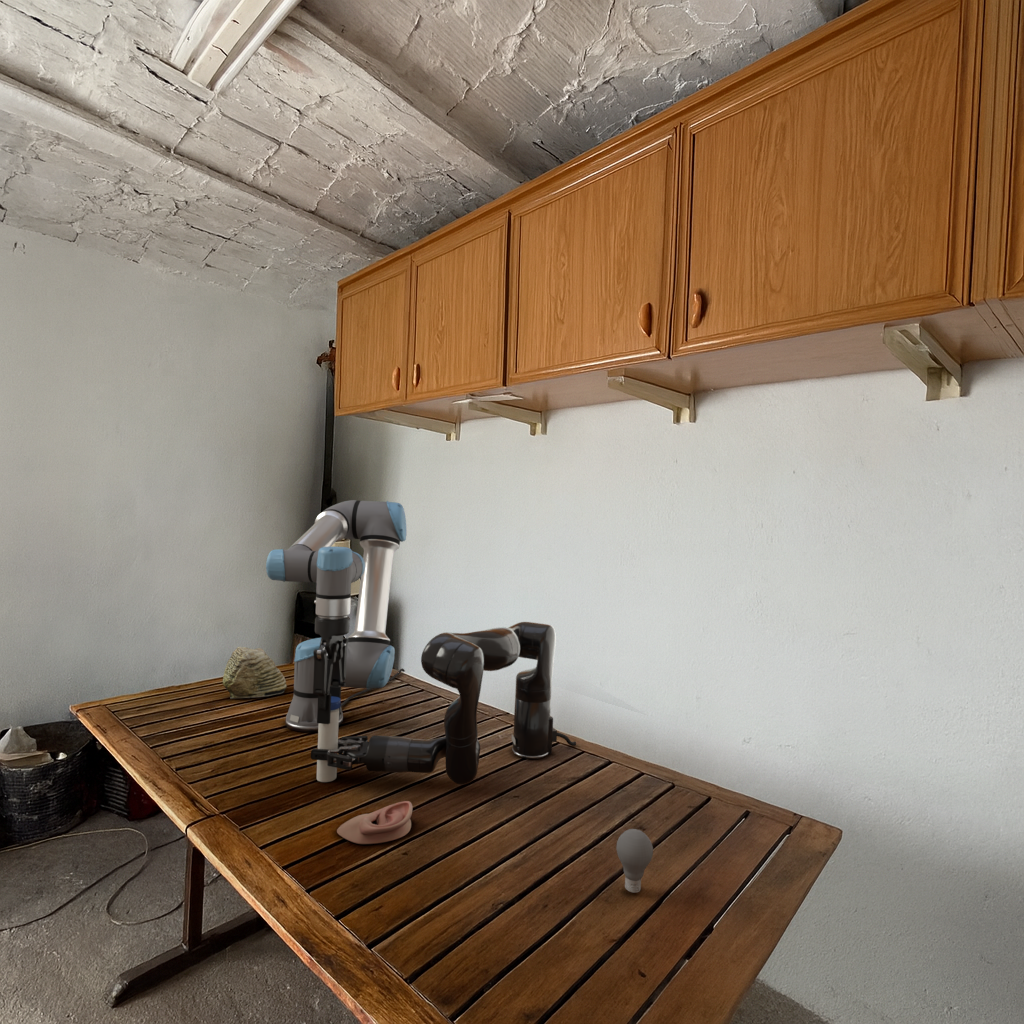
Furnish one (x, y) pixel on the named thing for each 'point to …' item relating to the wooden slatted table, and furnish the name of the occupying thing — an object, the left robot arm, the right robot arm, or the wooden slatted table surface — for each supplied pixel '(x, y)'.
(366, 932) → the wooden slatted table surface
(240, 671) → the fossil
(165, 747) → the wooden slatted table surface
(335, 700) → the lid
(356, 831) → the anatomical model
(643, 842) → the light bulb
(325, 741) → the white cylindrical bottle
